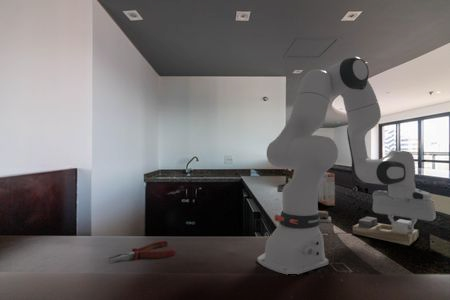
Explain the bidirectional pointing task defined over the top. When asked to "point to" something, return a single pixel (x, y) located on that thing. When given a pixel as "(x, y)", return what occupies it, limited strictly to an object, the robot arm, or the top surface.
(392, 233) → the rack
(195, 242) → the top surface
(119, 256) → the pliers
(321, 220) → the packaged product
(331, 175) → the cracker box
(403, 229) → the white rectangular block
